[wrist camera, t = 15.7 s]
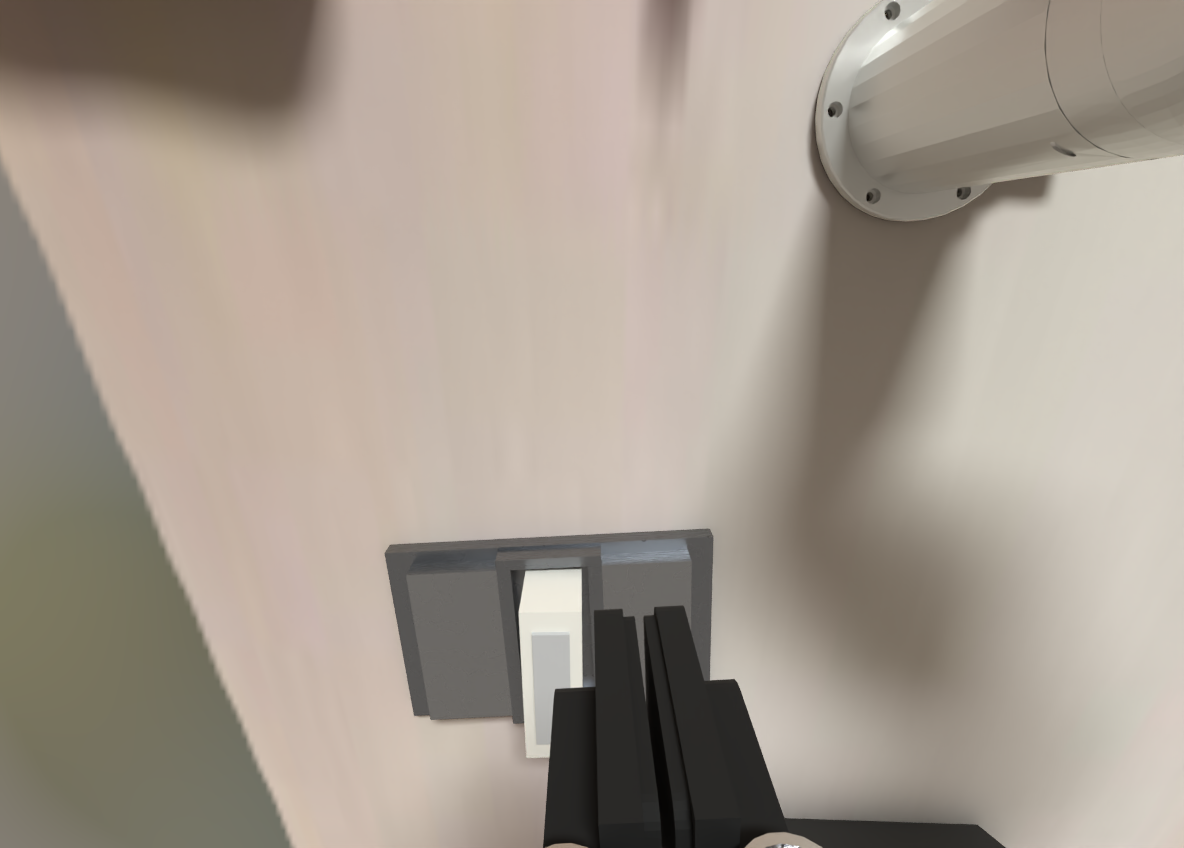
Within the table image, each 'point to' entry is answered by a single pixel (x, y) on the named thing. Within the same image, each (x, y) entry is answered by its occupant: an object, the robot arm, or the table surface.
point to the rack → (492, 600)
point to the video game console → (890, 834)
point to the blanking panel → (548, 647)
